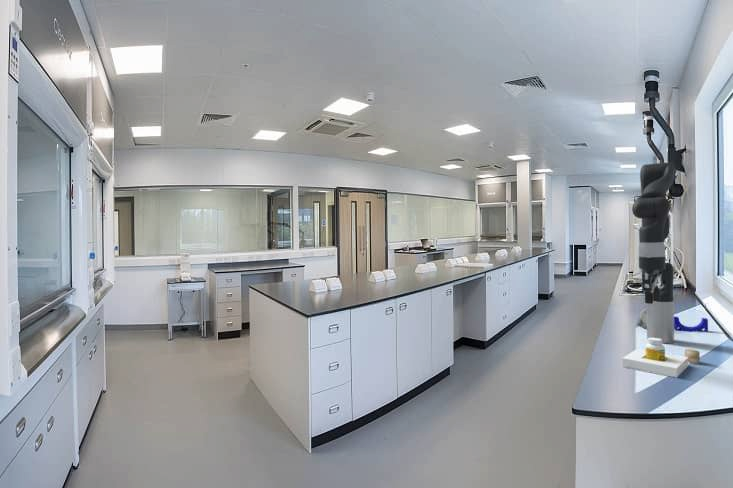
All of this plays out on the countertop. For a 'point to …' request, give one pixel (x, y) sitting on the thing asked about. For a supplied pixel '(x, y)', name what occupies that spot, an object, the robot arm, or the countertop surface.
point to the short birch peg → (692, 356)
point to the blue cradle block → (698, 328)
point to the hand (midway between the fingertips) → (652, 301)
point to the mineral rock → (643, 319)
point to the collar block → (656, 363)
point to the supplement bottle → (655, 350)
